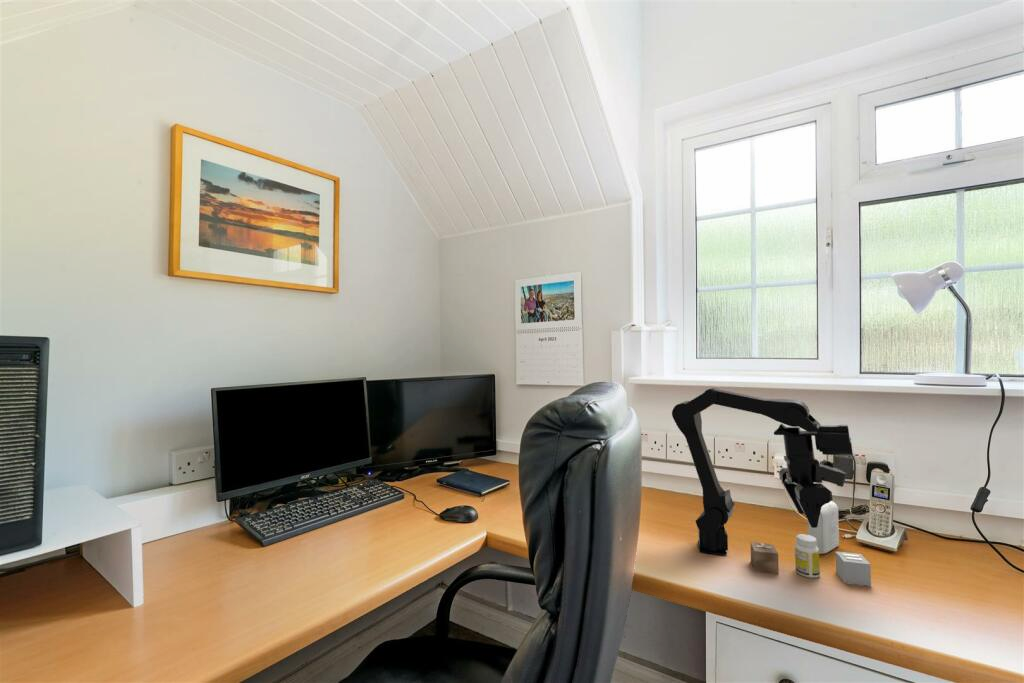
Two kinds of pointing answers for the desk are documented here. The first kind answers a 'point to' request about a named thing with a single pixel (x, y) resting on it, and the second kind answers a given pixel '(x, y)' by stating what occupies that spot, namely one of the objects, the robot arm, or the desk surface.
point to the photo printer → (826, 528)
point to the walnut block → (764, 558)
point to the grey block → (853, 568)
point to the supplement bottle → (807, 556)
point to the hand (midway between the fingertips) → (807, 520)
